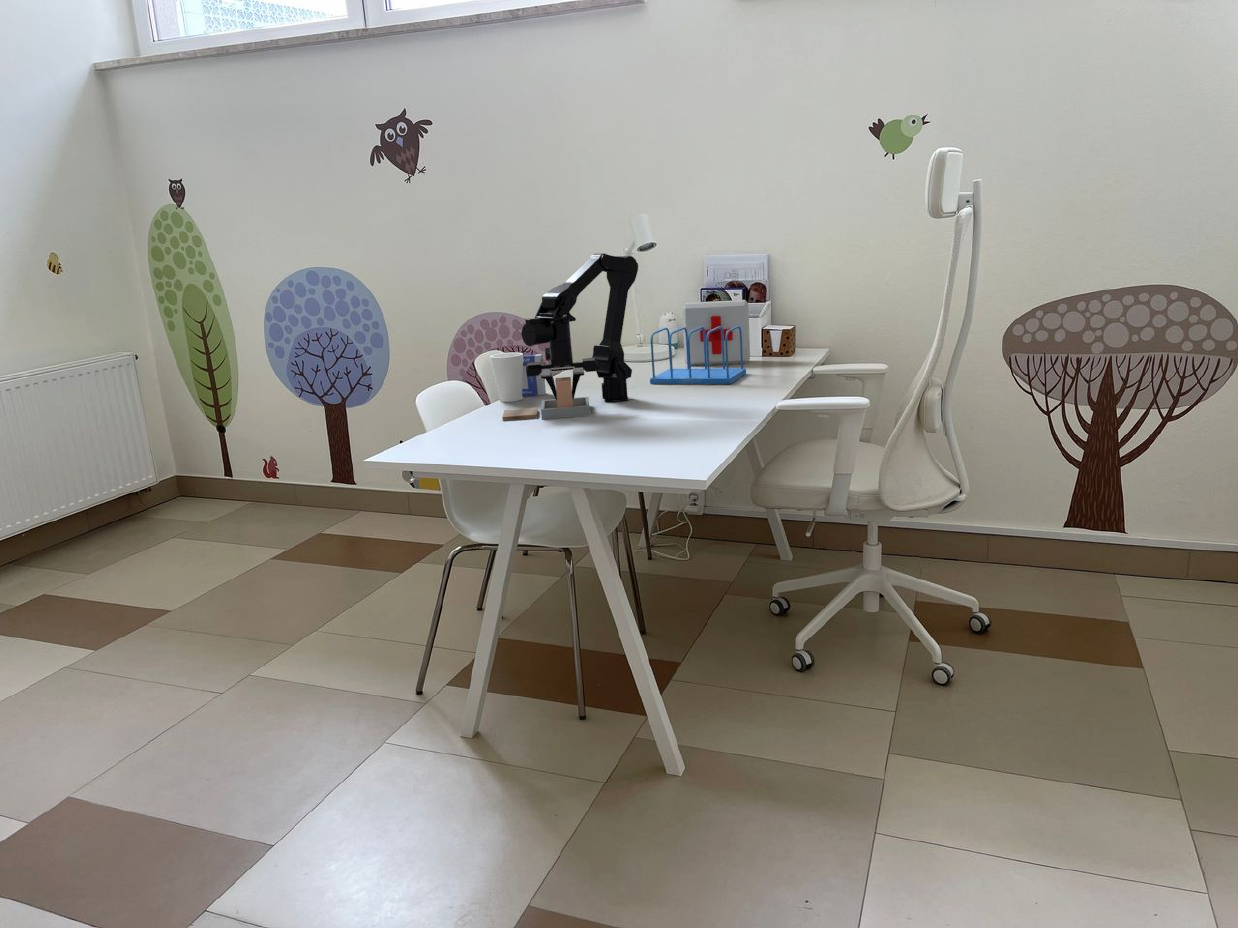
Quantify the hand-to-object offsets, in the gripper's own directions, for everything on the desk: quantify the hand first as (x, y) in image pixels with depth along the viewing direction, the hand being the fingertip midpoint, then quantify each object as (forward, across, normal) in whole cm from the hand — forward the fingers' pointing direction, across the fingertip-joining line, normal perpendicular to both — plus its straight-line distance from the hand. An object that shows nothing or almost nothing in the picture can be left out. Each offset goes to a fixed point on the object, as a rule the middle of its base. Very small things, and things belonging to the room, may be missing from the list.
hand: (564, 399), depth 249 cm
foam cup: (+4, +16, -24) cm, 29 cm away
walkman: (+4, +10, -29) cm, 31 cm away
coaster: (+4, +12, 0) cm, 12 cm away
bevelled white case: (+4, -50, -59) cm, 77 cm away
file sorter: (+4, -40, -34) cm, 53 cm away
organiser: (+4, 0, 0) cm, 4 cm away
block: (+4, 0, 0) cm, 4 cm away
